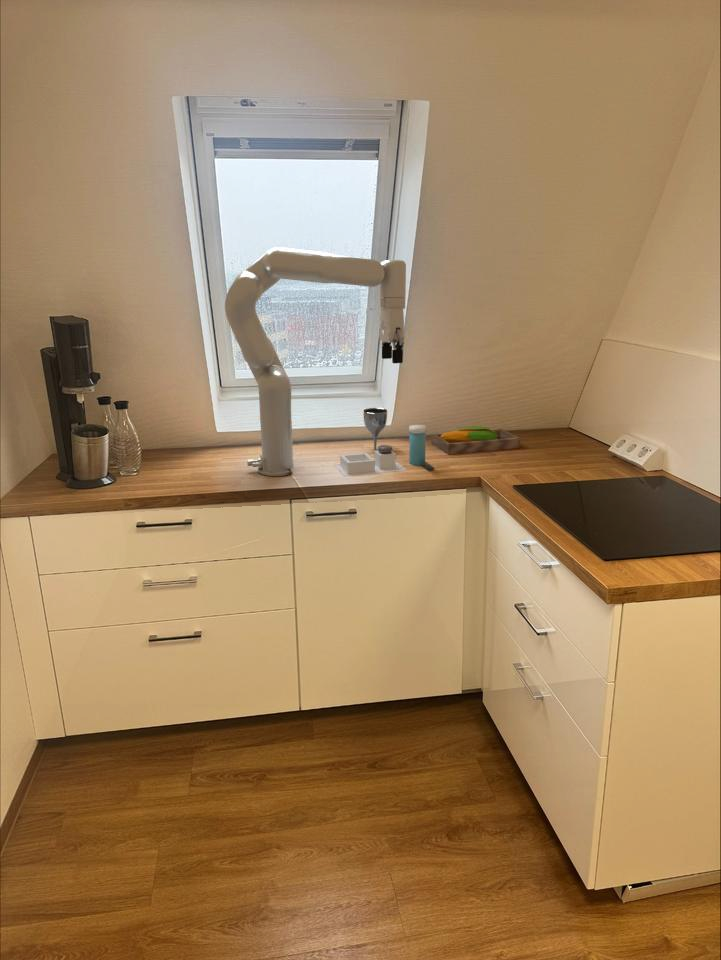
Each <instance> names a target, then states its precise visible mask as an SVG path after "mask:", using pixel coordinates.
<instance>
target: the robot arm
mask: <svg viewBox="0 0 721 960" xmlns="http://www.w3.org/2000/svg"><path fill="white" fill-rule="evenodd" d="M281 279H282V280H290V281H301V282H308V283H319V284H340V285H349V286H350V285H351V286H359V287H369V288H374V287H377V286H379V285H380V289H379V290H380V297H379V298H380V299H379V300H380V301H379V302H380V303H379V304H380V307H379V308H380V316H379V317H380V318H379V333H378V334H379V335H378V338H379V340H380V341H381V359H383V360H386V359H388V360H389V359H391V363H392V364H402V363H403V362H404V360H403V359H404V357H403V356H404V344H405V343H404V340H405V318H404V317H405V315H404V309H406V295H407V294H406V292H407V291H406V286H407V285H406V284H407V283H406V281H407V280H406V279H407V264H406V262H405V260H401V259H386V260H376V259H372V258H361V257H354V256H344V255H338V254H333V253H329V252H323V251H316V250H315V251H313V250H307V249H306V250H305V249H298V248H290V247H278V246H277V247H272V248H271V249H269V250H266V252H265V253H264V254H262V255H261V257H260V258H258V259H257V260H256V261H255V262H253V263H252V264H250V265H249V266H248V267H247V268H246V269H244V270H243V271H242V272H241V273H239V274H238V275H237V276H236V277H235V279H234V281H233V282H232V284H231V285H230V287H229V289H228V291H227V293H226V296H225V301H224V309H225V310H224V311H225V317H226V319H227V322H228V324H229V327H230V329H231V331H232V333H233V335H234V338H235V340H236V342H237V344H238V347H239V348H240V350H241V353H242V357H243V360H244V361H245V363H247V365H248V367H249V370H250V371H251V373H252V376H253V377H254V380H255V381H256V383H257V386H258V387H257V388H258V399H259V421H260V423H259V424H260V441H261V455H259V457H257V458H256V459H247V463H246V465H247V467H252V468H257V472H258V473H259V474H260V475H264V476H268V477H283V476H288V475H289V476H290V475H292V474H293V472H292V470H291V468H293V467H294V454H293V453H294V451H293V422H292V385H291V380H290V378H289V376H288V374H287V372H286V371H285V368H284V366H283V364H282V361H281V360H280V358H279V355H278V354H277V352H276V349H275V346H274V345H273V342H272V341H271V339H270V338H269V337H268V336H267V334H266V331H265V330H264V328H263V325H262V322H261V320H260V318H259V315H258V314H257V310H256V304H257V302H258V301H259V300H260V298H261V297H262V295H263V294H264V293H265V292H267V291H268V290H269V289H270V288H272V287H273V286H275V284H277V283H278V282H279V281H280V280H281Z"/></svg>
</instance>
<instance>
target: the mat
mask: <svg viewBox="0 0 721 960" xmlns="http://www.w3.org/2000/svg"><path fill="white" fill-rule="evenodd" d="M422 468H423V469H425V470H426V471H427V470H430V471H435V467H434V466H433V465H431V464H430V463H429V462H427V461H426V460H425V466H424V467H422Z"/></svg>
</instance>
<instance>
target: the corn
mask: <svg viewBox="0 0 721 960" xmlns="http://www.w3.org/2000/svg"><path fill="white" fill-rule="evenodd" d="M456 429H459V430H453V431H448V432H444V433H445V434H443V435H441V436H440V437H441V438H442V439H444V440H446V441H447V442H449V443H460V442H471V441H483V440H495V439H497V435H496V433H495V432H494V431H492V430H491V428H489V427H486V426H482V425H475V426H474V425H472V426H471V425H469V426H457V427H456ZM490 430H491V431H490Z"/></svg>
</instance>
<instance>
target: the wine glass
mask: <svg viewBox="0 0 721 960" xmlns="http://www.w3.org/2000/svg"><path fill="white" fill-rule="evenodd" d="M387 420H388V409H386V408H382V407H368V408H365V409H363V422H364V426H365V428H366V429H367V431H368V432H369V433H370V434H371V436H372V439H373V451H377V441H378V437H379V435H380V434H381V433H382V432H383V430H384V429H385V427H386V426H387V422H388V421H387Z"/></svg>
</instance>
